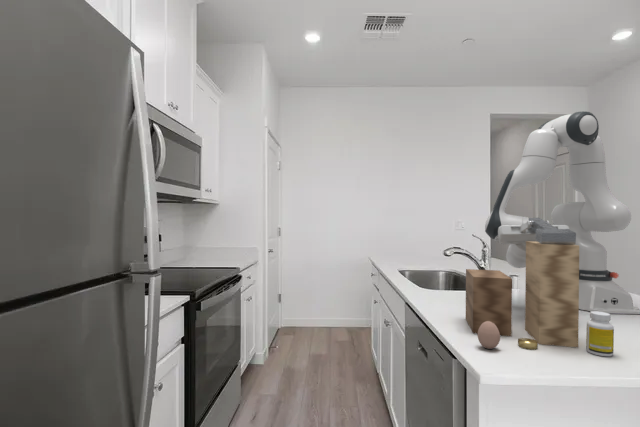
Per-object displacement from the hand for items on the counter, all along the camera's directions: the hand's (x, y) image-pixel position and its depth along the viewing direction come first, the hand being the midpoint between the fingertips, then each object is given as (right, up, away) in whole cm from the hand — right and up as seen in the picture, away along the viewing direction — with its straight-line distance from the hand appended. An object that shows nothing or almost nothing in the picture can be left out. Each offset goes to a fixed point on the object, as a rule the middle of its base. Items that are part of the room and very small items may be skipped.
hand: (538, 222), depth 115 cm
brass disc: (-13, -32, -18) cm, 38 cm away
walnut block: (-16, -31, -1) cm, 35 cm away
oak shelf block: (-3, -31, -10) cm, 33 cm away
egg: (-24, -31, -19) cm, 44 cm away
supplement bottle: (+2, -32, -22) cm, 38 cm away
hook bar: (-1, -3, -5) cm, 6 cm away
